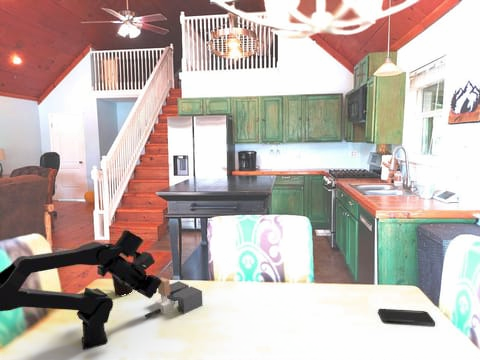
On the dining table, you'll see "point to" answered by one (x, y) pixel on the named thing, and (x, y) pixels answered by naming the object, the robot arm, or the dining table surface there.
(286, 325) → the dining table surface
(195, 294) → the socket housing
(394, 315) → the phone
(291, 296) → the dining table surface
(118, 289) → the coffee mug
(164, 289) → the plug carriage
